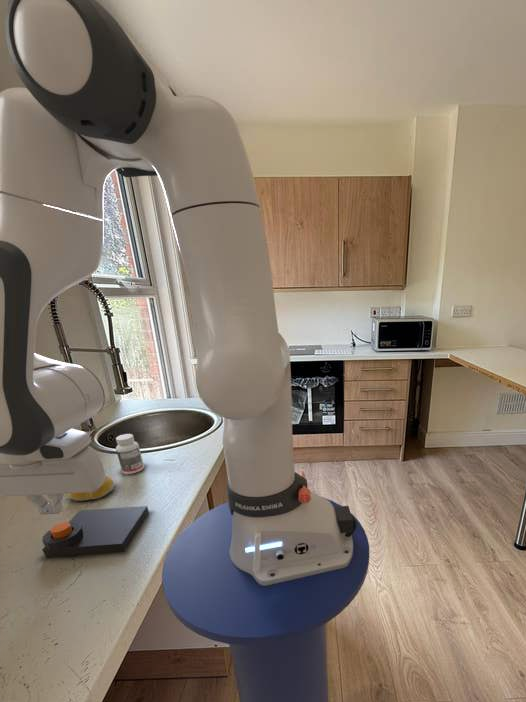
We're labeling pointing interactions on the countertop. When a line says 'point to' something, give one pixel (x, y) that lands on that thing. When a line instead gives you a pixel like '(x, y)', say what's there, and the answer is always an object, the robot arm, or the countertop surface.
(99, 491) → the bread roll
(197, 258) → the robot arm
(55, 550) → the scale
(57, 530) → the button
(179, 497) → the countertop surface
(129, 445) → the pill bottle
